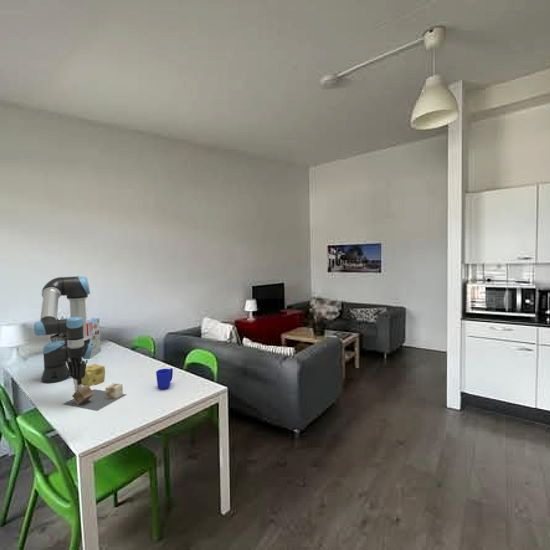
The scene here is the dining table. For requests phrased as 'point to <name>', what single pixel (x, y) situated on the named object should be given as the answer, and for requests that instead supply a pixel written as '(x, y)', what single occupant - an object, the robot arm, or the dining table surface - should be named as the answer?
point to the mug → (164, 378)
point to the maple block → (114, 391)
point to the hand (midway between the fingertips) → (78, 390)
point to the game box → (94, 335)
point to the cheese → (94, 375)
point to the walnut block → (82, 394)
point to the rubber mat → (94, 401)
